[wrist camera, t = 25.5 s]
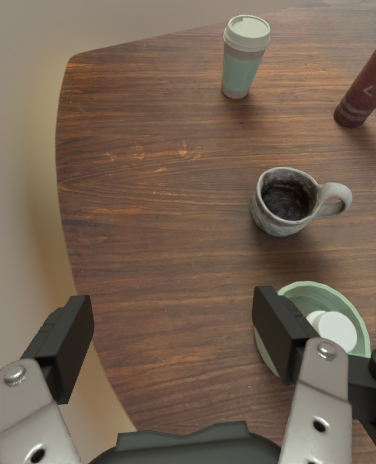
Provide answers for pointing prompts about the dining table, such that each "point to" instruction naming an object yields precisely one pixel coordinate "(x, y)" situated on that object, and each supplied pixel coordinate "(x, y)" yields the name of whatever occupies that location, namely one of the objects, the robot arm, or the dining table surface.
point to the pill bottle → (334, 328)
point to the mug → (294, 201)
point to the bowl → (321, 299)
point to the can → (359, 97)
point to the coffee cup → (243, 53)
